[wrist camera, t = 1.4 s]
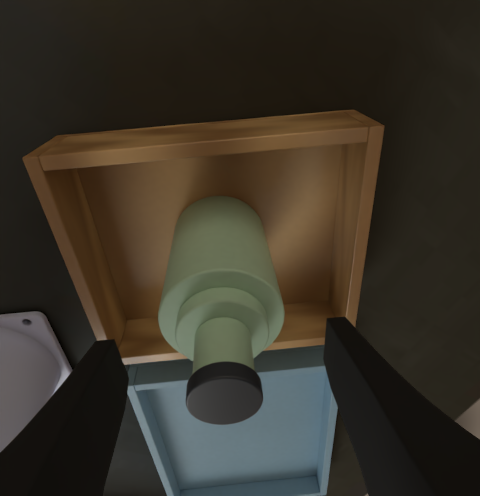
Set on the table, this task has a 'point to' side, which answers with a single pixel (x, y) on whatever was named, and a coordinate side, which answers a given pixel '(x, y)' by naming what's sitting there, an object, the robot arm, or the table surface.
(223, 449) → the tray
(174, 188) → the tray
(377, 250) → the table surface
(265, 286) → the bottle
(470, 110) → the table surface
